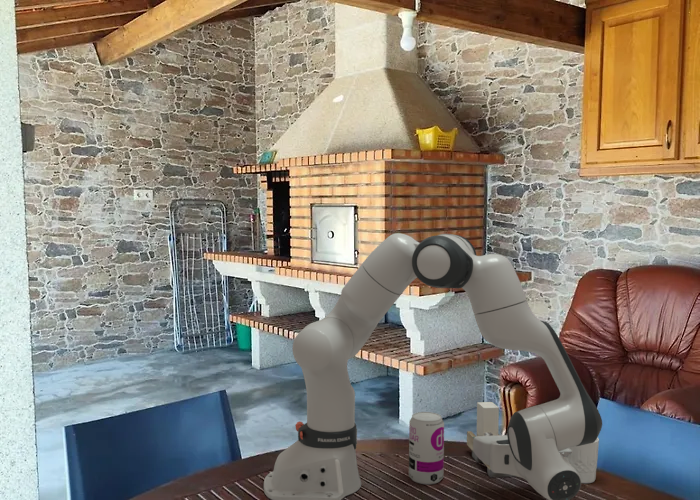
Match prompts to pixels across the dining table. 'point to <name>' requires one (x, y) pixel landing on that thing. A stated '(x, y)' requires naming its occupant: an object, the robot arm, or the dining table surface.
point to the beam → (470, 443)
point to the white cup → (585, 460)
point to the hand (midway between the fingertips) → (506, 434)
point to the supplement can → (426, 448)
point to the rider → (487, 418)
